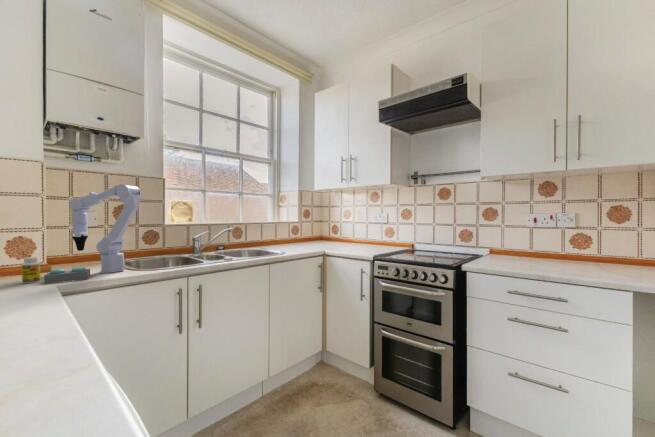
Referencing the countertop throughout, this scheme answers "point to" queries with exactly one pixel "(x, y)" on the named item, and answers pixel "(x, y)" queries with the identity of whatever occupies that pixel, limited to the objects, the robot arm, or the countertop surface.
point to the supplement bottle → (30, 270)
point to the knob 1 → (57, 271)
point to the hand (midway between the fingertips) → (80, 250)
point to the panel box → (66, 276)
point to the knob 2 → (78, 269)
